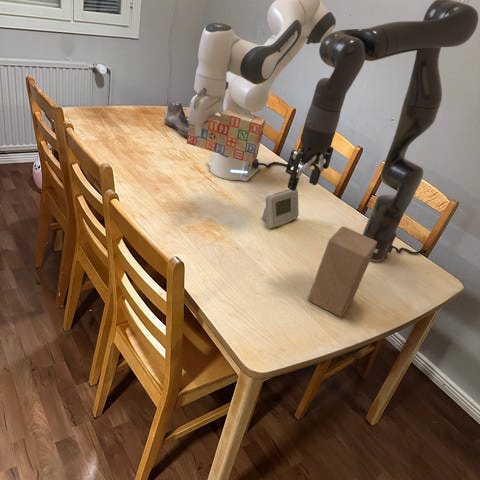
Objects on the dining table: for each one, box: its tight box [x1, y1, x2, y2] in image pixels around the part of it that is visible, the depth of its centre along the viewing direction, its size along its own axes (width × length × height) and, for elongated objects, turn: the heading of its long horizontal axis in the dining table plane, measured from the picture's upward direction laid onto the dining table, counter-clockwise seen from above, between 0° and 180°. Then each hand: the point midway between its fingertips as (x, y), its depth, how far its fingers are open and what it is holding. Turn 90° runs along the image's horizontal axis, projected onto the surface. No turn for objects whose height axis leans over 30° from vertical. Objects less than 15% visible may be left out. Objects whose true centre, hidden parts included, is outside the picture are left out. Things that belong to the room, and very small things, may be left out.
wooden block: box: [307, 226, 377, 318], centre depth 116 cm, size 10×10×20 cm
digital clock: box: [261, 188, 299, 229], centre depth 151 cm, size 16×9×11 cm, turn 123°
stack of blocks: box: [186, 108, 266, 164], centre depth 131 cm, size 21×6×12 cm, turn 73°
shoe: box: [163, 100, 189, 139], centre depth 205 cm, size 25×11×12 cm, turn 30°
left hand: (203, 131), depth 134 cm, fingers closed on stack of blocks, 6 cm apart
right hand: (302, 186), depth 113 cm, fingers open, 8 cm apart
